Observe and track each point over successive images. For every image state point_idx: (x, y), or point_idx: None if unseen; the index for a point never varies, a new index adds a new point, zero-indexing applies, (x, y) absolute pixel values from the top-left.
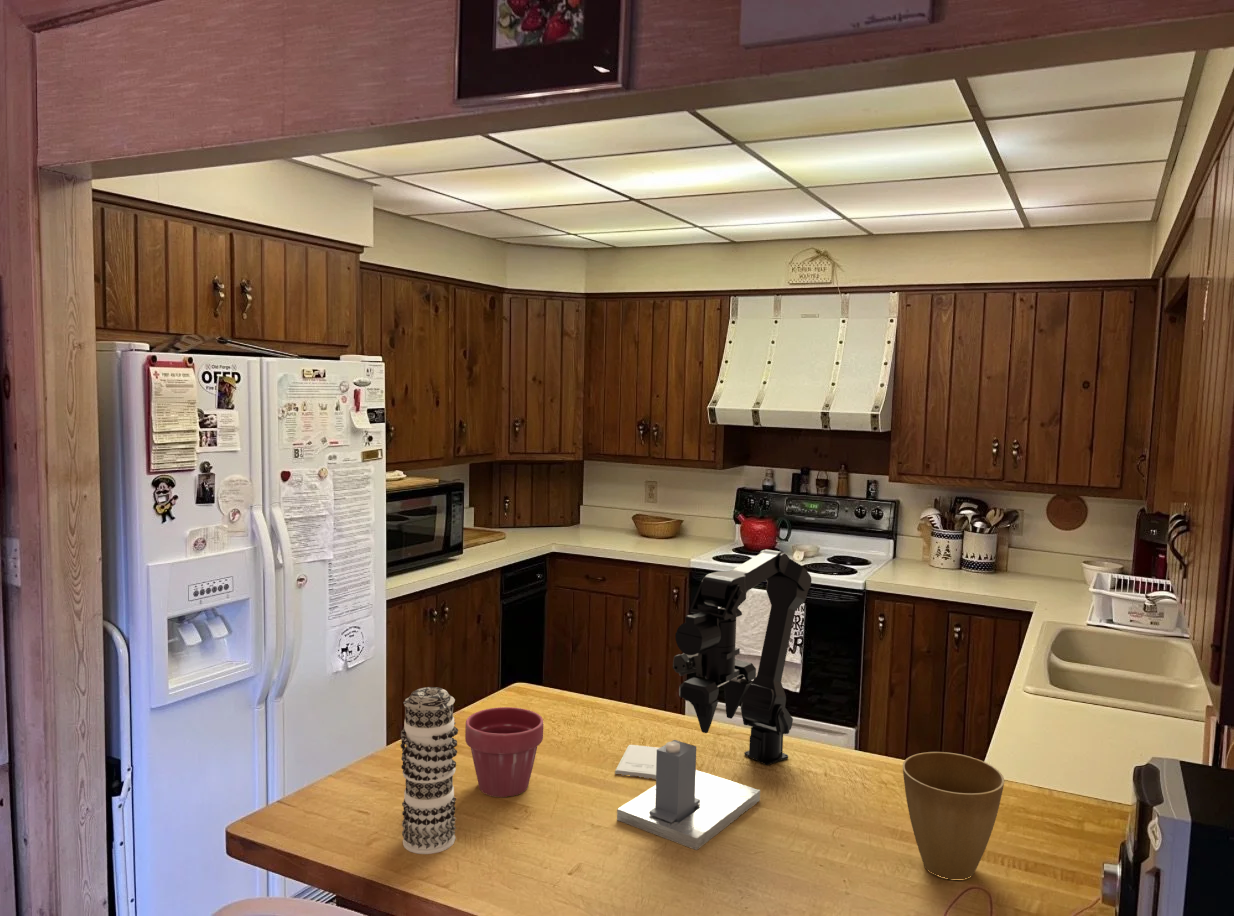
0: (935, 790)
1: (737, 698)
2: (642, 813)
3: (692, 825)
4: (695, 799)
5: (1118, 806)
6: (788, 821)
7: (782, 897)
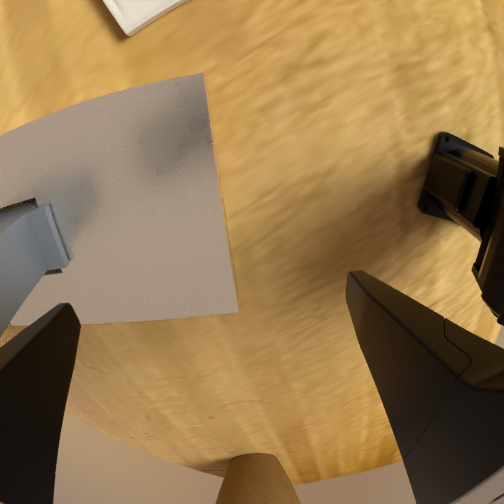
0: None
1: (396, 418)
2: None
3: None
4: (57, 261)
5: None
6: (208, 361)
7: (68, 408)
